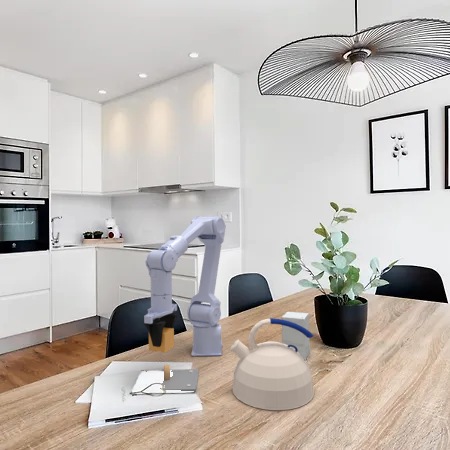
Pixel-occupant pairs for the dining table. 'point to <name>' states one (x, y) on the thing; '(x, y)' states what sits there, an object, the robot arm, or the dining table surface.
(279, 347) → the kettle
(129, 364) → the dining table surface
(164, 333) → the orange cube
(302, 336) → the supplement box
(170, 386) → the plate
